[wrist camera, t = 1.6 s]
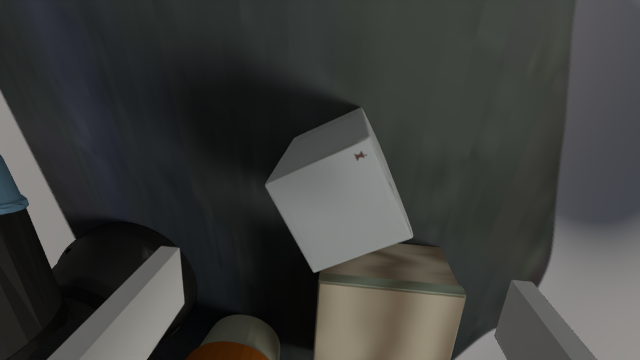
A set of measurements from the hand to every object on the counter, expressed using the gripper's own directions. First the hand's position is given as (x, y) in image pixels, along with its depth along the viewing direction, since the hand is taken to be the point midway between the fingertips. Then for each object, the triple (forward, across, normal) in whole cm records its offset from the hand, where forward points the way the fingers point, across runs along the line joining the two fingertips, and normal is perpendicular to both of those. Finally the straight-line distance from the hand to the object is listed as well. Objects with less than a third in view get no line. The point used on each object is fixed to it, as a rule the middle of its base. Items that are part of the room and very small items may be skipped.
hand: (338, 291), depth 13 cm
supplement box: (+20, 0, 0) cm, 21 cm away
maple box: (+20, +5, -17) cm, 27 cm away
